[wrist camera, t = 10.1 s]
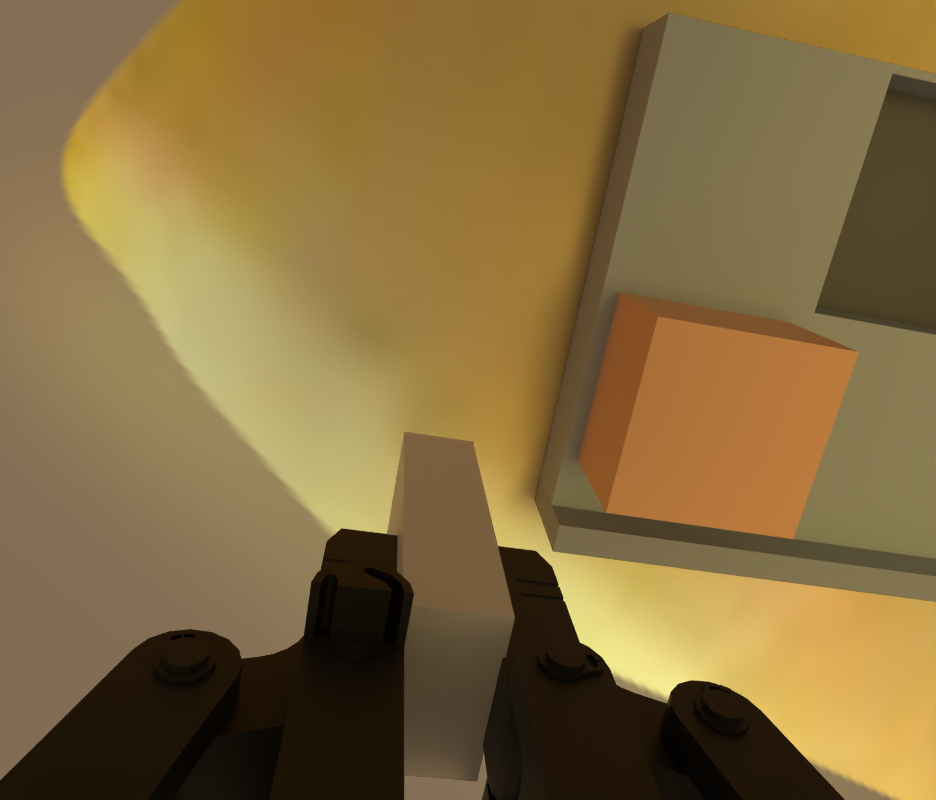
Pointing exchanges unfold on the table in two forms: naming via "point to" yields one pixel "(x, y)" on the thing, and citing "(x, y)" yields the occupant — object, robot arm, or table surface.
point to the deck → (775, 288)
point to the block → (711, 416)
